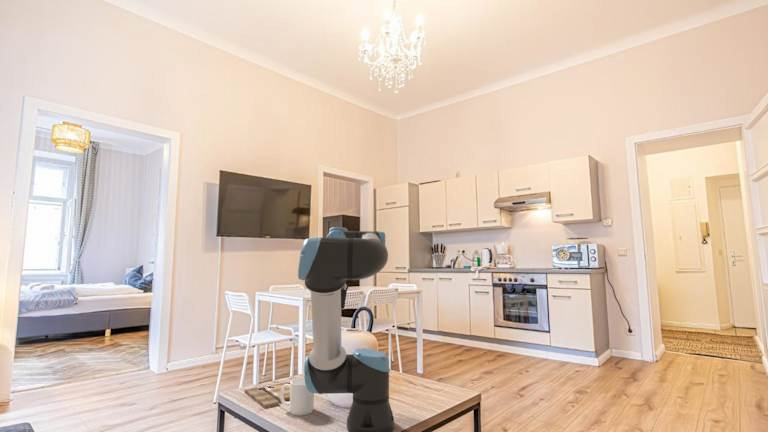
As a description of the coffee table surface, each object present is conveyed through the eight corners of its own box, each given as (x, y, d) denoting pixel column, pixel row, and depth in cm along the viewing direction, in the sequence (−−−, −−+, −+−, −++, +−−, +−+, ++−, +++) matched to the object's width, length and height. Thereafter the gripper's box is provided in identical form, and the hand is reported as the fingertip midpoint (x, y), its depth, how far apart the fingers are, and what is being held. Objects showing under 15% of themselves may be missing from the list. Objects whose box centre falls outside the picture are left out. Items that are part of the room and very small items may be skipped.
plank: (303, 395, 151) (303, 391, 151) (279, 402, 145) (279, 398, 145) (286, 384, 164) (286, 381, 164) (262, 390, 158) (262, 386, 158)
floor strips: (278, 404, 143) (278, 401, 143) (264, 408, 140) (264, 404, 140) (258, 389, 158) (258, 386, 159) (244, 392, 155) (244, 389, 155)
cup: (310, 416, 133) (311, 385, 134) (275, 415, 134) (276, 384, 135) (316, 407, 141) (316, 377, 142) (283, 405, 142) (284, 376, 143)
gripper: (354, 266, 154) (353, 328, 152) (336, 265, 164) (335, 323, 162) (338, 266, 149) (336, 330, 147) (321, 265, 160) (319, 325, 157)
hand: (336, 326), depth 154 cm, fingers closed
